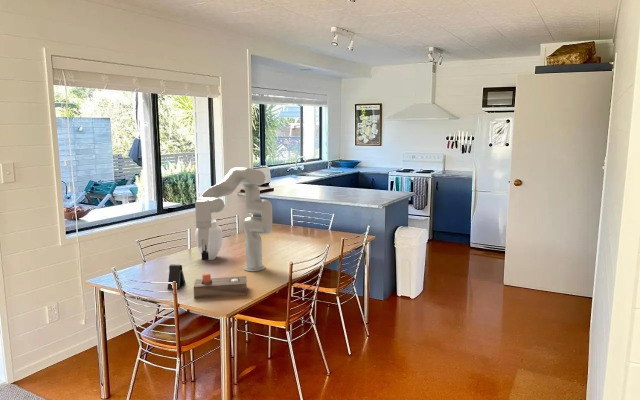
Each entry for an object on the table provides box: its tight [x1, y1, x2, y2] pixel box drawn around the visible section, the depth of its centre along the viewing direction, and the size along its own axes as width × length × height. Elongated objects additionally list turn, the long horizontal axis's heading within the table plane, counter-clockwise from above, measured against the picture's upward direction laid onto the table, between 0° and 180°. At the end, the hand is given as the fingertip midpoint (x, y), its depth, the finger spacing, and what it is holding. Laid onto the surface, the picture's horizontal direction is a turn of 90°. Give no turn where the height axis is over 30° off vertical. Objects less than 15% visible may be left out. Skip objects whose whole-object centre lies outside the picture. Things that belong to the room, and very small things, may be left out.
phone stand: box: [167, 264, 186, 290], centre depth 248 cm, size 9×6×12 cm, turn 170°
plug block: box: [193, 275, 248, 299], centre depth 239 cm, size 12×26×6 cm, turn 99°
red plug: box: [202, 273, 212, 284], centre depth 237 cm, size 4×4×6 cm
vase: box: [194, 218, 224, 261], centre depth 300 cm, size 18×18×25 cm
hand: (205, 259), depth 235 cm, fingers closed
